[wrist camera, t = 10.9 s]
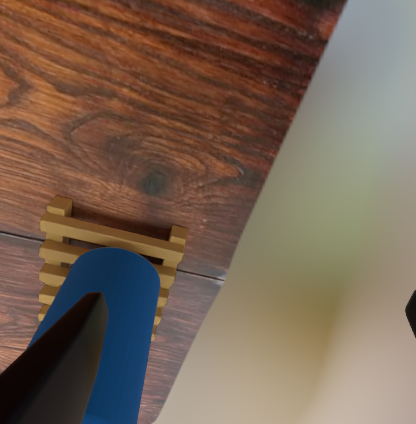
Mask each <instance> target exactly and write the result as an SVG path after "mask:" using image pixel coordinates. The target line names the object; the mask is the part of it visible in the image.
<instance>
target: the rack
mask: <svg viewBox="0 0 416 424" xmlns="http://www.w3.org/2000/svg"><path fill="white" fill-rule="evenodd" d="M71 213H72V199H68V198H64V197H60V196H55V197H54V198H53V199H52V201H51V202H50V203H49V204H48V205H47V212H46V213H45V215H44V216H43V217H42V218H41V219H40V231H43V232H46V240H45V241H44V243H43V244H42V245H41V247H40V257H41V258H45V264H44V266H43V267H42V269H41V270H40V272H39V280H40V281H44V282H45V285H44V287H43V288H42V290H41V291H40V293H39V302H43V303H44V305H43V307H42V309H41V310H40V312H39V321H42V320H43V318H44V316H45V315H46V313H47V311H48V309H49V307H50V306H51V304H52V302H53V300H54V298H55V297H56V295H57V293H58V291H59V289H60V288H61V286H62V284H63V282H64V280H65V278H66V277H67V275H68V273H69V271H70V269H69V268H67V263H69V264H74V262H75V261H76V260H77V258H79V257H80V256H81V255H82V254H84V253H85V252H87V251H90V250H91V249H86V248H82V247H77V246H73V245H69V238H74V239H78V240H82V241H87V242H91V243H96V244H100V245H104V246H109V247H117V248H123V249H127V250H130V251H133V252H135V253H139V254H143V255H148V256H152V257H157V258H161V259H162V261H161V265H157V264H153V263H151V264H152V265H153V266H154V267H155V269H156V270H157V272H158V275H159V278H160V291H159V297H158V303H157V308H156V314H155V320H154V326H153V332H152V338H151V341H153V339H154V336H155V331H156V325H157V324H159V322H160V319H161V315H162V308H163V306H165V305H166V302H167V299H168V294H169V288H170V285H173V282H174V280H175V276H176V268H177V265H178V263H180V262H181V260H182V257H183V254H184V245H185V243H186V239H187V228H183V227H179V226H175V225H173V226H172V229H171V232H170V235H169V239H168V241H164V240H160V239H156V238H152V237H148V236H144V235H139V234H135V233H131V232H127V231H123V230H119V229H115V228H110V227H106V226H102V225H98V224H94V223H90V222H85V221H81V220H77V219H73V218H71ZM150 344H151V343H150ZM149 350H150V349H149Z"/></svg>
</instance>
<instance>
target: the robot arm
mask: <svg viewBox="0 0 416 424" xmlns="http://www.w3.org/2000/svg"><path fill="white" fill-rule="evenodd" d="M405 312H406V316H407V319H408V321H409V323H410V326H411V328H412V331H413V333H414V335H415V338H416V290H415V291H414V293H413V294H412V296H411V298H410V300H409V302H408V304H407V306H406V309H405ZM108 316H109V313H108V308H107V304H106V301H105V297H104V294H103V293H102V292H88V293H86V294H85V295H84V296H83V297H82V298H81V299H80V300H79V301H77V302H76V303H75V304H74V305H73V306H72V307H71V308H70V309H69V310H68V311H67V312H66V313H65V314H64V315H63V316H62V317H61V318H59V319H58V320H57V321H56V322H55V323H54V324H53V325H52V326H51V327H50V328H49V329H48V330H47V331H46V332H45V333H44V334H43V335H41V336H40V337H39V338H38V339H37V340H36V341H35V342H34V343H33V344H32V345H31V346H30V347H29V348H28V349H27V350H26V351H25V352H23V353H22V354H21V355H20V356H19V357H18V358H17V359H16V360H15V361H14V362H13V363H12V364H11V365H10V366H9V367H8V368H7V369H5V370H4V371H3V372H2V373H1V374H0V424H82V421H83V418H84V414H85V411H86V408H87V405H88V402H89V398H90V395H91V392H92V389H93V385H94V382H95V379H96V375H97V372H98V367H99V363H100V358H101V353H102V347H103V342H104V337H105V332H106V327H107V322H108Z"/></svg>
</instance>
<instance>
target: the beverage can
mask: <svg viewBox="0 0 416 424" xmlns="http://www.w3.org/2000/svg"><path fill="white" fill-rule="evenodd" d="M159 291H160V278H159V275H158V272H157V270H156V269H155V267H154V266H153V265H152V264H151V263H150V262H149V261H148V260H147V259H145V258H144V257H142V256H141V255H139V254H137V253H135V252H133V251H130V250H127V249H123V248H117V247H101V248H96V249H92V250H90V251H87V252H85V253H84V254H82V255H81V256H80V257H79V258H77V260H76V261H75V262H74V264H73V266H72V268H71V269H70V271H69V273H68V275H67V277H66V278H65V280H64V282H63V284H62V286H61V288H60V289H59V291H58V293H57V295H56V297H55V298H54V300H53V302H52V304H51V306H50V307H49V309H48V311H47V313H46V315H45V316H44V318H43V320H42V322H41V324H40V325H39V327H38V329H37V331H36V333H35V335H34V336H33V338H32V340H31V342H30V344H29V345H28V347H27V349H28V348H29V347H30V346H31V345H32V344H33V343H34V342H35V341H36V340H37V339H38V338H39V337H40V336H41V335H43V334H44V333H45V332H46V331H47V330H48V329H49V328H50V327H51V326H52V325H53V324H54V323H55V322H56V321H57V320H58V319H59V318H61V317H62V316H63V315H64V314H65V313H66V312H67V311H68V310H69V309H70V308H71V307H72V306H73V305H74V304H75V303H76V302H77V301H79V300H80V299H81V298H82V297H83V296H84V295H85V294H86V293H88V292H102V293H103V294H104V297H105V301H106V304H107V308H108V313H109V316H108V322H107V327H106V332H105V337H104V342H103V347H102V353H101V358H100V363H99V367H98V372H97V375H96V379H95V382H94V385H93V389H92V392H91V395H90V398H89V402H88V405H87V408H86V411H85V414H84V418H83V421H82V424H137V419H138V413H139V408H140V402H141V396H142V390H143V384H144V378H145V373H146V367H147V361H148V355H149V349H150V343H151V338H152V332H153V326H154V320H155V314H156V308H157V303H158V297H159ZM27 349H26V350H27Z"/></svg>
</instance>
